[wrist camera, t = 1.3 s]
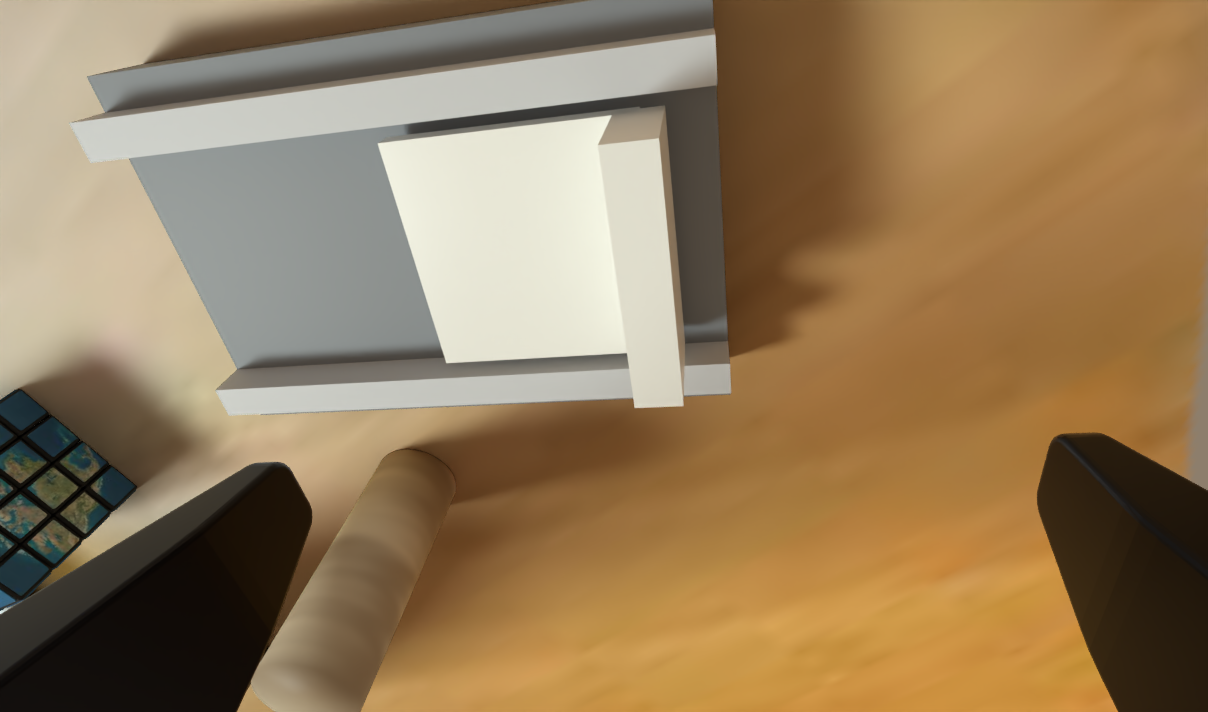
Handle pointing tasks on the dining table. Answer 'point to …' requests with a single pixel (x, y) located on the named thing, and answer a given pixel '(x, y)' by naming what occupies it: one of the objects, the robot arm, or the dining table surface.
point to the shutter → (549, 241)
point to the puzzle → (46, 495)
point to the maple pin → (358, 591)
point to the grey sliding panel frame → (366, 201)
